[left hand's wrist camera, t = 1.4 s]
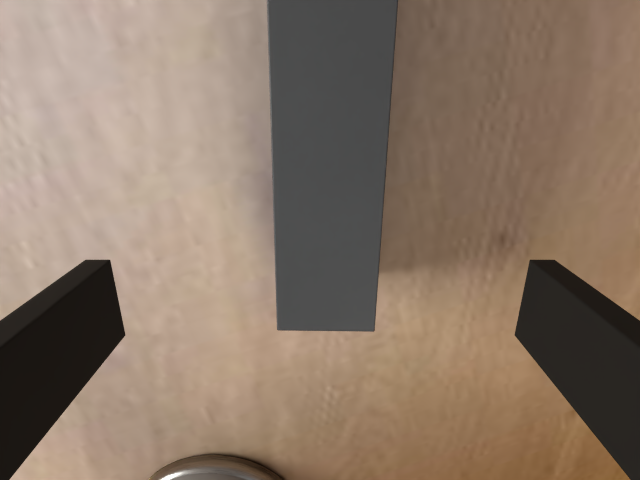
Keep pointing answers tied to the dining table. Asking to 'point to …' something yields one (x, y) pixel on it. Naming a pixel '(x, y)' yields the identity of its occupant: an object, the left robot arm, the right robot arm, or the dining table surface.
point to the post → (329, 157)
